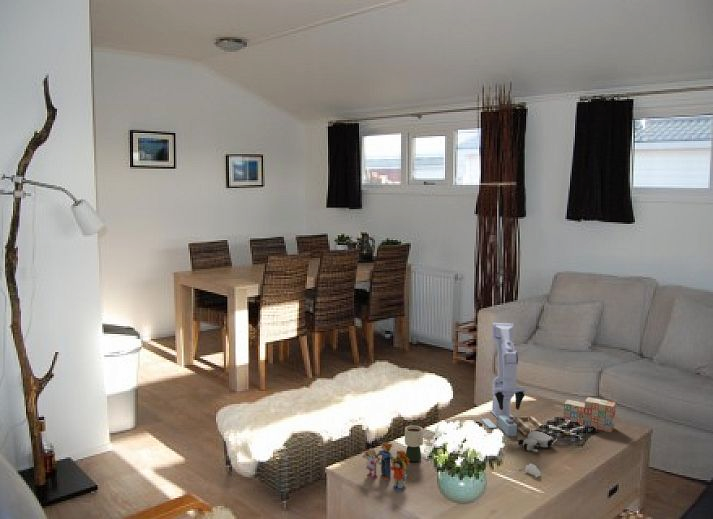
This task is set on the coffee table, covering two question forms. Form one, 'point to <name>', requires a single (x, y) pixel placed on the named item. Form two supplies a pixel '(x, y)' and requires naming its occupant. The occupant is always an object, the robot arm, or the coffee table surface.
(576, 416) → the stack of blocks
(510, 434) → the light blue block
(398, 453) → the doll family
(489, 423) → the wing plate
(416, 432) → the character mug
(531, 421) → the wooden pallet
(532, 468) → the car cutout
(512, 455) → the coffee table surface
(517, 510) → the coffee table surface
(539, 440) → the robot toy
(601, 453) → the coffee table surface
